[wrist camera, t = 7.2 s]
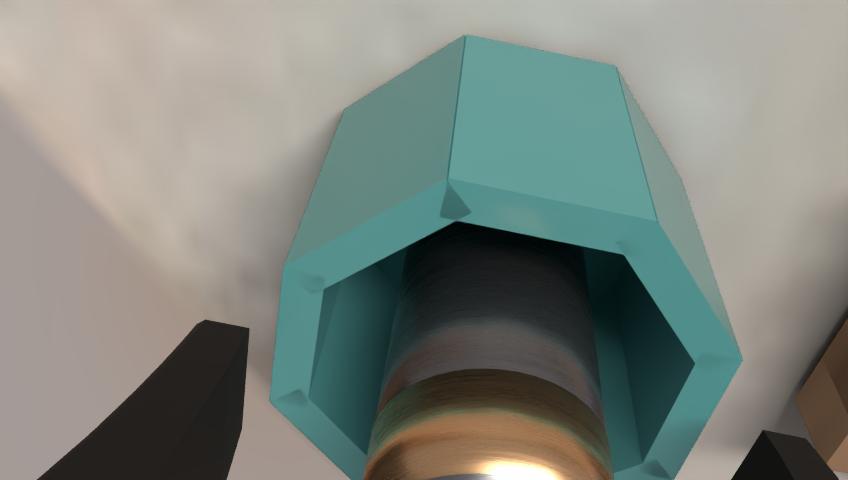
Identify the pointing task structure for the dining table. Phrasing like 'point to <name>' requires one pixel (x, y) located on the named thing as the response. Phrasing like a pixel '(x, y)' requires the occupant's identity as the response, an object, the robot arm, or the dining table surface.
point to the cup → (511, 211)
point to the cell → (491, 364)
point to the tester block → (829, 403)
